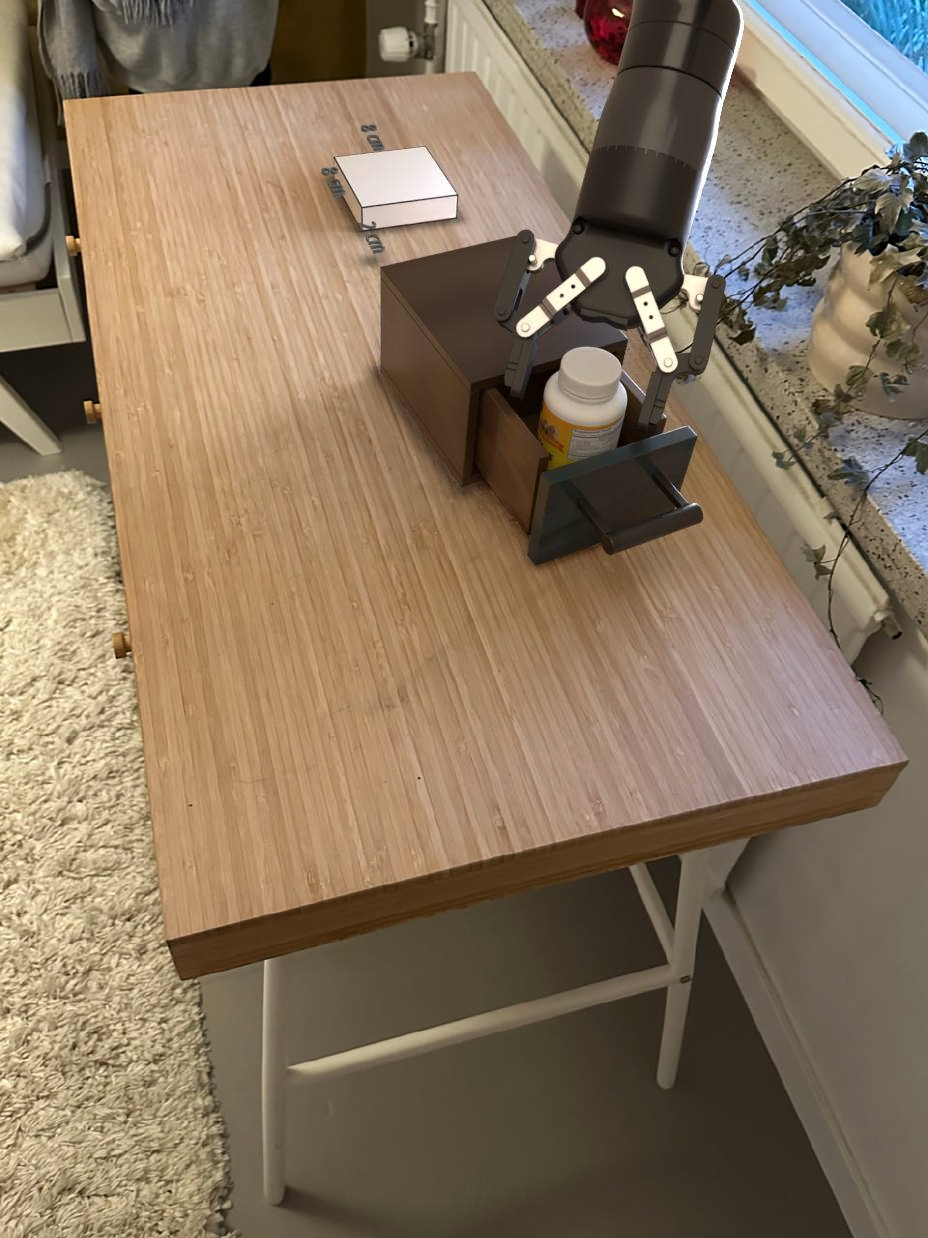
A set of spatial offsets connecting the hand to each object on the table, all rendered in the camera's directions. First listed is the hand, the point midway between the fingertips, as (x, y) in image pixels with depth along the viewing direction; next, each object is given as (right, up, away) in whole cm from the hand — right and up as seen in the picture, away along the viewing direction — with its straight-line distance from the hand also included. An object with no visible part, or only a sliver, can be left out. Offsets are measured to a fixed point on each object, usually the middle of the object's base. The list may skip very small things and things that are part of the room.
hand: (578, 414), depth 67 cm
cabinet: (-5, +4, +14) cm, 15 cm away
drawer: (0, -5, +7) cm, 8 cm away
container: (-15, +27, +32) cm, 45 cm away
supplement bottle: (0, -3, +7) cm, 7 cm away
